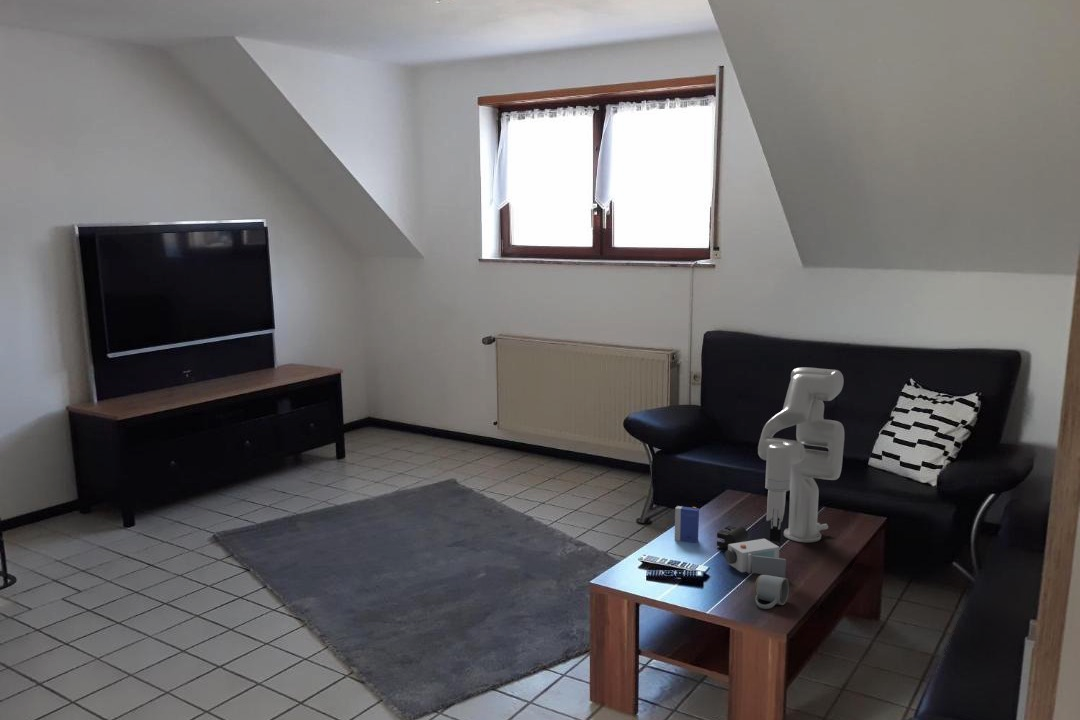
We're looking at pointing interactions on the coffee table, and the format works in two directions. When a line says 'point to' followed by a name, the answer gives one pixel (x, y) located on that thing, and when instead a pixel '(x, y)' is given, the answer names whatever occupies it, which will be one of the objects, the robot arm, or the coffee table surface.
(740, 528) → the power tool battery
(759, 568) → the side door
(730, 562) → the camera body
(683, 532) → the walkman
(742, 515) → the coffee table surface
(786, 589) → the ceramic mug
